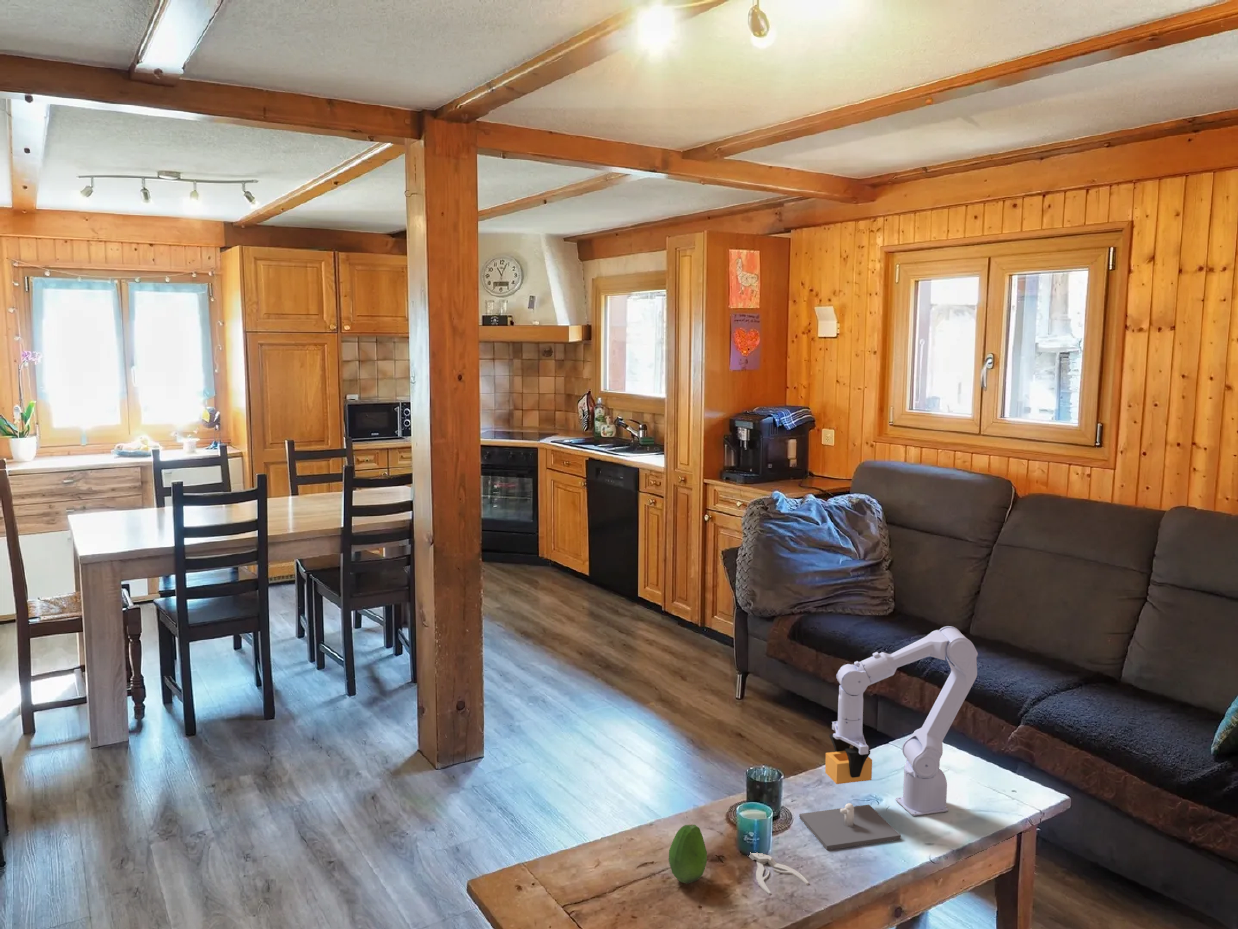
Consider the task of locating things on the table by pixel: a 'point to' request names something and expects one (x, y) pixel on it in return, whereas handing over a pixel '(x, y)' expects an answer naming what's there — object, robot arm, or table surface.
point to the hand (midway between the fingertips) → (848, 770)
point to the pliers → (765, 859)
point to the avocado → (688, 854)
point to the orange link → (845, 768)
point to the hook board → (849, 827)
